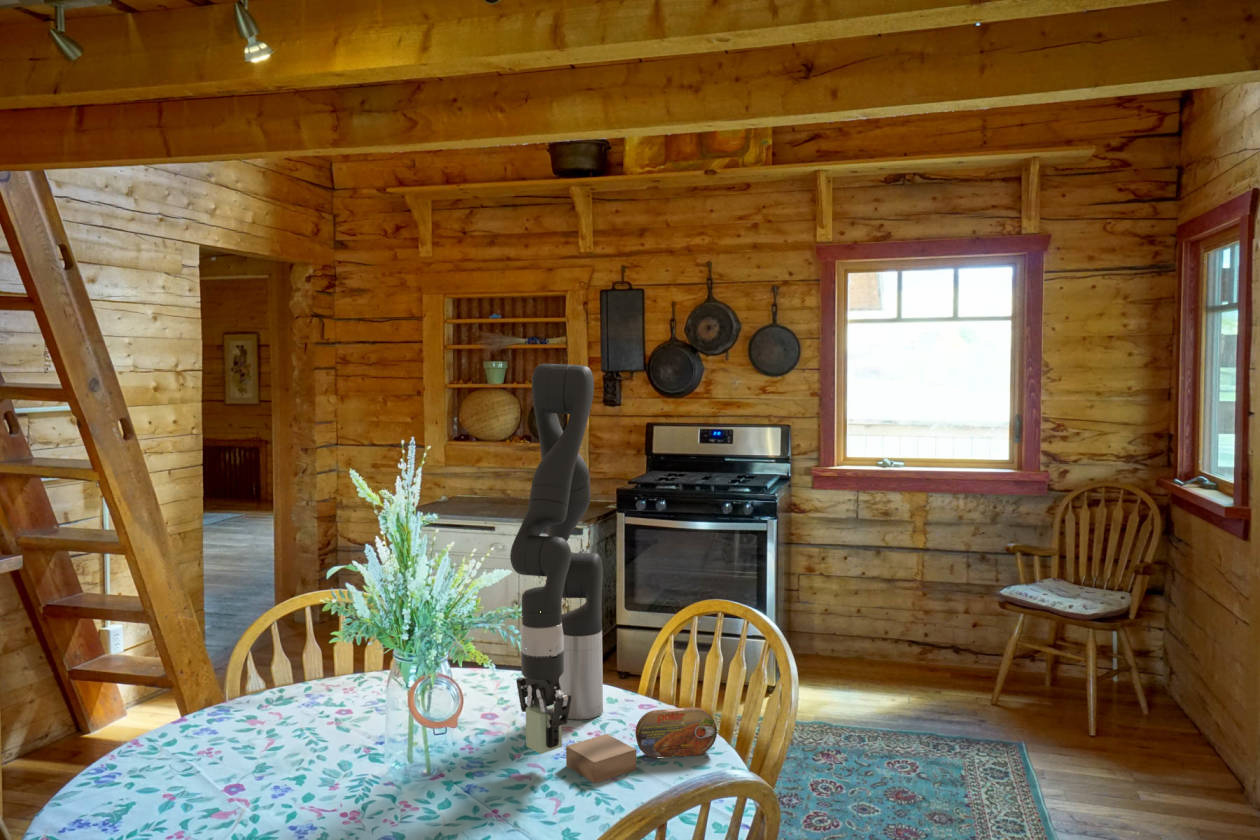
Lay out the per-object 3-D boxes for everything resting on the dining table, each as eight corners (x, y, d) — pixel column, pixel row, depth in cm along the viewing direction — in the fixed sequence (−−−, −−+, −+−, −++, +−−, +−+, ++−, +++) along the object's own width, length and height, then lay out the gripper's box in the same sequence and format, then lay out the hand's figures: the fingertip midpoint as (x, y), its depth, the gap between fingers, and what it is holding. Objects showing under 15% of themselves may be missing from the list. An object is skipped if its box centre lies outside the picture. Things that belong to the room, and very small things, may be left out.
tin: (637, 760, 173) (636, 715, 172) (634, 753, 176) (633, 708, 175) (717, 754, 175) (717, 709, 174) (713, 747, 178) (713, 703, 177)
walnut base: (566, 767, 170) (566, 745, 170) (607, 755, 176) (607, 733, 175) (594, 785, 163) (594, 762, 163) (636, 771, 168) (636, 749, 168)
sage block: (526, 746, 169) (525, 707, 169) (547, 739, 172) (546, 701, 172) (541, 754, 166) (540, 714, 165) (561, 746, 169) (561, 708, 168)
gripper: (502, 643, 171) (504, 735, 172) (548, 662, 160) (550, 760, 161) (536, 634, 175) (538, 725, 177) (584, 652, 165) (585, 748, 166)
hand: (544, 741), depth 169 cm, fingers closed on sage block, 4 cm apart
